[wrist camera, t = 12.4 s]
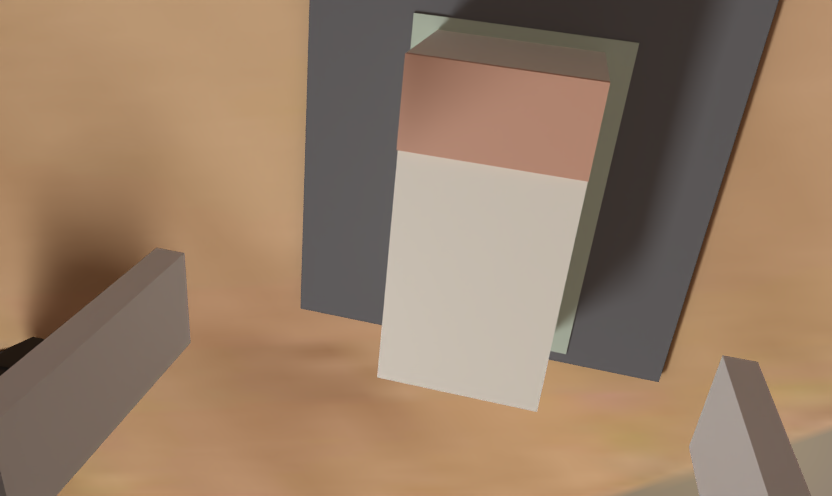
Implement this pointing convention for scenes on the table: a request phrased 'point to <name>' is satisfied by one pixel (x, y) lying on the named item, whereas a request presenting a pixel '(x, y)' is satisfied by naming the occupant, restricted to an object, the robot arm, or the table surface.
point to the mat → (611, 169)
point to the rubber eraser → (486, 211)
